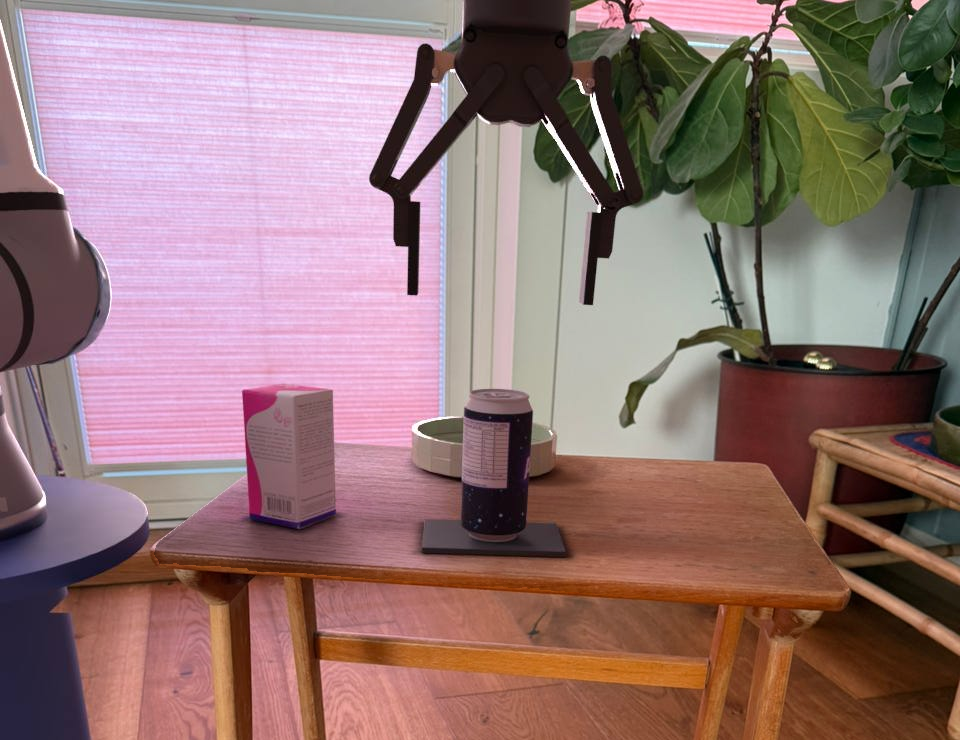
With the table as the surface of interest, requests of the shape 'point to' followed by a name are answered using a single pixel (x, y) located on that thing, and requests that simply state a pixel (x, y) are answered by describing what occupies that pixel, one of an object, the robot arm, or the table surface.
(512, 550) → the mat
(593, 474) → the table surface
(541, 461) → the bowl
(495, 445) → the beverage can
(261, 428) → the supplement box
